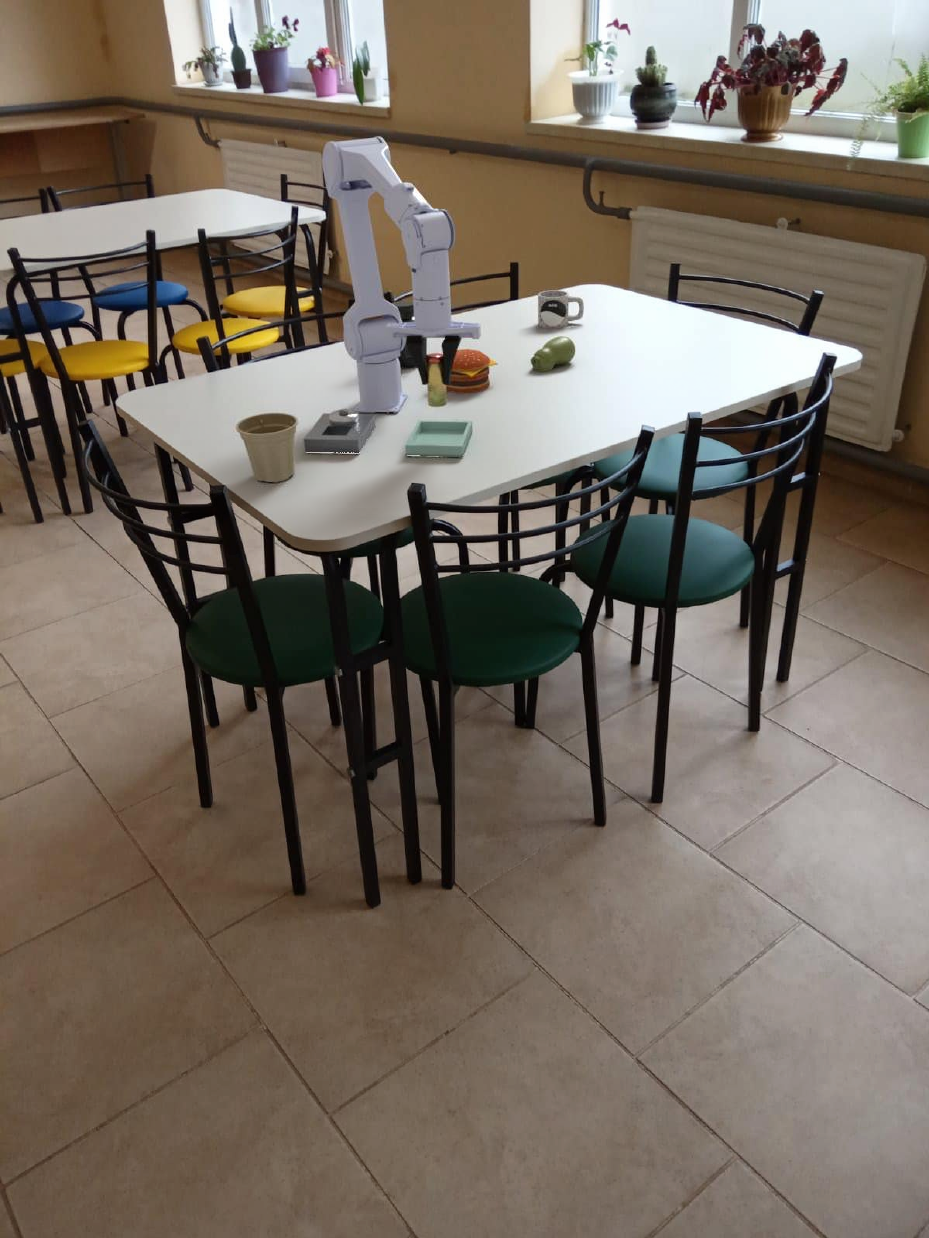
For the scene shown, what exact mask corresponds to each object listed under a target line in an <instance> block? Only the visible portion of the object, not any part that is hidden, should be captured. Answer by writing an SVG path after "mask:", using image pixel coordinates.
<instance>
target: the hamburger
mask: <svg viewBox="0 0 929 1238" xmlns="http://www.w3.org/2000/svg"><path fill="white" fill-rule="evenodd" d="M498 364H499V363H498V362H496V361H494V360H493V359H490V357H489V356H488V355H486V354H485V353H483V352H482V351H480V350H477V349H469V348H466V349H465V348H463V349H457V352H456V355H455V359H454V362H453V367H452V373H451V382H450V384H449V385H446V391H447V390H448V392H451V393H459V394H465V393H466V394H471V393H476V391H477V392H481V391H483V390H486V389H487V388H488V387H490V384H491V383H490V381H491V380H490V376H489V375H490V367H492V366H498ZM480 390H481V391H480Z"/></svg>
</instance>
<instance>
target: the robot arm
mask: <svg viewBox="0 0 929 1238" xmlns="http://www.w3.org/2000/svg"><path fill="white" fill-rule="evenodd" d="M391 159H392V158H391V152H390V148H389V145H388V143H387V142H386V141H385V139H384V138H383V137H382V136H374V137H370V138H360V139H350V140H340V141H330V140H329V141H327V142H326V144H325V146H324V148H323V152H322V156H321V165H322V170H323V176H324V182H325V188H326V190H327V194H328V197H329V198H331V199H333V200H335V201H336V202H337V207H338V211H339V218H340V222H341V227H342V228H341V229H342V233H343V238H344V245H345V250H346V256H347V261H348V267H349V273H350V279H351V284H352V290H353V295H354V300H355V301H354V303H352V305H351V306H350V308H349V309H348V310H347V311H346V312H345V314H344V315H343V317H342V324H343V342H344V343H343V344H344V347H345V350H346V353H347V354H348V356H349V357H350V358H351V359H353V360H354V361H356V369H357V371H356V372H357V379H358V380H357V381H358V392H359V393H358V394H359V399H360V400H359V402H358V404H357V405H356V406H355V408H354V409H353V410H356V411H358V413H375V412H387V413H388V414H390V413H389V412H394V413H393V414H395V413H396V412H397V413H399V411H400V410H401V408H402V406H403V404H404V403H405V401H406V400H407V397H408V396H409V395H408V393H407V392H403V385H402V384H403V383H402V373H401V372H402V370H401V368H400V362H399V359H398V358H397V357H399V356H400V351H402V350H403V348H404V346H405V343H406V338H407V343H406V347H407V349H408V351H409V352H410V354H411V356H412V358H413V359H414V361H415V363H416V368H417V371H418V373H419V376H420V377H419V378H420V381H421V384H422V386H423V385H424V386H426V385H427V374H426V358H425V356H426V355H428V353H427V350H428V349H427V348H428V345H427V344H428V342H427V341H428V339H433V338H435V339H440V338H441V339H443V341H442V342H441V350H442V354H443V359H444V384H445V385H449V384H450V382H451V373H452V367H453V362H454V359H455V355H456V352H457V350H459V348H460V347H459V346H460V344H461V341H462V339H472V340H480V338H481V336H482V334H481V333H482V332H481V331H482V329H481V323H479V322H478V323H477V322H464V321H463V322H462V321H455V320H454V321H453V320H452V311H451V310H452V307H451V302H452V301H451V284H450V283H451V282H450V281H451V279H450V263H449V262H450V261H449V260H450V259H449V251H451V250H452V249H453V248H454V245H455V242H456V241H455V240H456V231H455V225H454V221H453V219H452V217H451V215H450V214H449V212H448V210H447V209H443V208H442V209H438V208H434V207H432V206H431V204H429V202H428V201H427V200H426V199H425V198H424V196H423V195H422V193H421V192H419V190H418V189H417V188H416V186H414V185H413V184H412V183H411V182H402V180H401V178H400V177H399V175H398V174H397V172H396V171H395V169H394V168H393V166H392V162H391V161H392V160H391ZM375 193H378V194H379V195H380V196H381V197H382V198H383V199H384V200H383V206H384V207H383V208H384V210H385V212H386V215H388V217H389V218H390V219H391V220H392V222H394V225H395V226H396V227H397V228H398V230H400V232H401V239H402V244H403V248H404V249H405V253H406V254H405V255H406V263H407V265H408V267H410V272H411V273H410V275H411V287H412V288H411V290H412V302H413V305H414V320H415V322H406V323H402V320H401V317H400V313H399V310H398V308H397V307H396V306H394V305H393V304H392V303H391V302H390V301H388V300H386V299H385V296H384V292H383V287H382V286H383V285H382V281H381V274H380V268H379V262H378V258H377V256H378V255H377V252H376V251H377V250H376V245H375V239H374V233H373V228H372V220H371V215H370V211H369V205H368V204H369V203H368V202H369V200H370V197H371V195H373V194H375ZM379 316H382V317H380V318H376V317H379ZM369 318H372V319H369ZM373 318H374V319H373ZM364 319H368V320H364ZM362 320H363V321H362Z"/></svg>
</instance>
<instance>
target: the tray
mask: <svg viewBox="0 0 929 1238" xmlns="http://www.w3.org/2000/svg"><path fill="white" fill-rule="evenodd" d="M472 432H473V421H472V420H427V419H426V420H417V422H416V423H415V426H414V428H413V430H412V431H411V434H410V435H409V438H408V439H407V442H406V443H405V456H406V455H420V456H439V457H441V456H442V457H463V458H464V456H465V454H464V453H466V451H467V448H468V446H469V443H470V441H469V440H471V437H472V435H473V433H472ZM468 442H469V443H468ZM467 445H468V446H467ZM465 450H466V451H465ZM463 455H464V456H463Z"/></svg>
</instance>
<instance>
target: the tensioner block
mask: <svg viewBox="0 0 929 1238" xmlns="http://www.w3.org/2000/svg"><path fill="white" fill-rule="evenodd" d="M374 428H375V429H376V417H375V414H374V413H360V412H358V411H356V410H354V409H351V408H350V409H349V408H344V409H343V408H342V409H337V410H334V411H332V412H330V413H328V412H327V413H324V412H323V413H322V414H321V416H320V417H319V419H318V420H317V421H316V423H314V425H313V426H312V428H311V429H310V431H308V433H307V434H306V436H305V437H304V438H303V442H304V443H303V444H304V448H305V449H304V451H305V453H306V452H334V453H336V452H338V453H340V452H341V453H342V452H343V453H344V452H345V453H347V452H349V453H351V452H352V453H353V452H354V453H359V452H360V451H361V449H362V448H363V446H364V445H365V446H366V444H367V443H366V441H367V439H368V438H369V437H370V438H371V436H372V435H371V433H372V431H373V430H374ZM374 431H375V430H374ZM374 431H373V432H374ZM372 434H373V433H372ZM370 435H371V436H370ZM370 438H369V439H370ZM367 442H368V441H367ZM365 443H366V444H365ZM365 446H364V447H365ZM363 449H364V448H363ZM363 449H362V450H363ZM361 452H362V451H361Z"/></svg>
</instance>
